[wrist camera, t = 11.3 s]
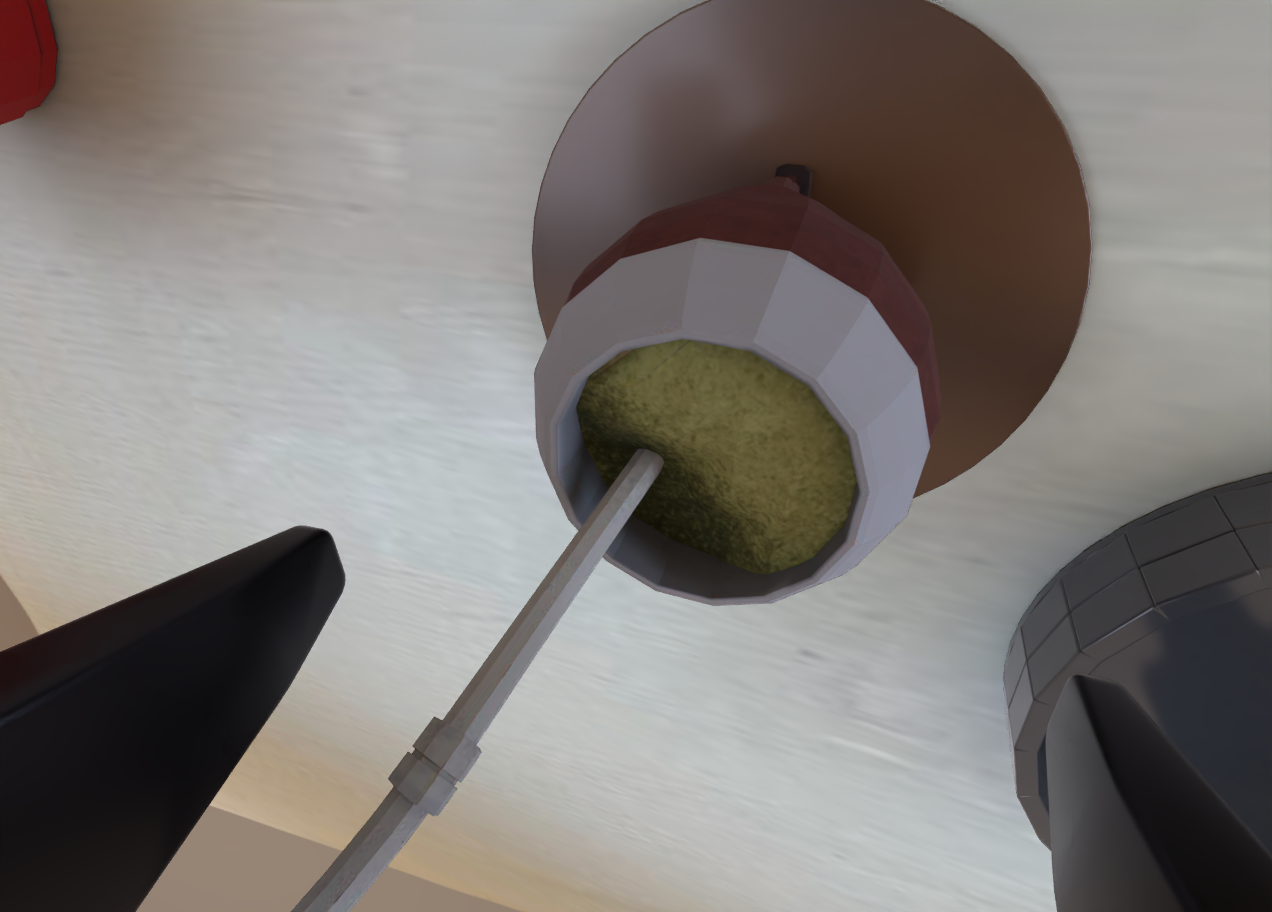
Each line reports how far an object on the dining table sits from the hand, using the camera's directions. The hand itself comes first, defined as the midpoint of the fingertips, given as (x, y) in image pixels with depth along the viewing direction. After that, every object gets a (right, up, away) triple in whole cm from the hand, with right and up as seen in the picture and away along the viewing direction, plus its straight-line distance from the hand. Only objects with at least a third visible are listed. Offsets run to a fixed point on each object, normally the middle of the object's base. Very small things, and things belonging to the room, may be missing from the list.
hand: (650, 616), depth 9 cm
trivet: (+3, +6, +9) cm, 11 cm away
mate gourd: (+3, +6, +9) cm, 11 cm away
